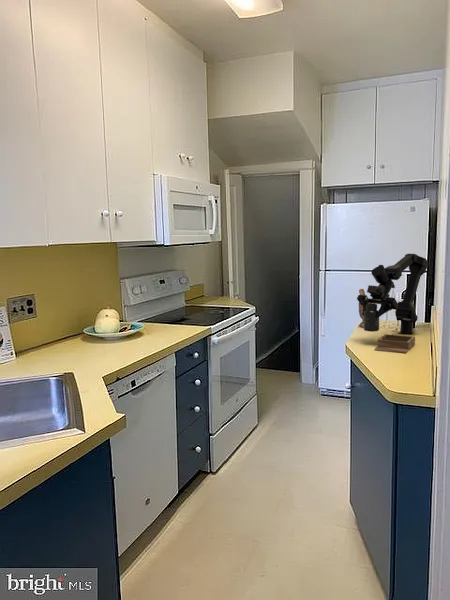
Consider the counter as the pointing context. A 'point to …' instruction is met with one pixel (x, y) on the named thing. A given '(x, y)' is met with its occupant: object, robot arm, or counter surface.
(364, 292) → the mortar and pestle
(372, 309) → the supplement bottle
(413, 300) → the robot arm
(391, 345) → the walnut tray
